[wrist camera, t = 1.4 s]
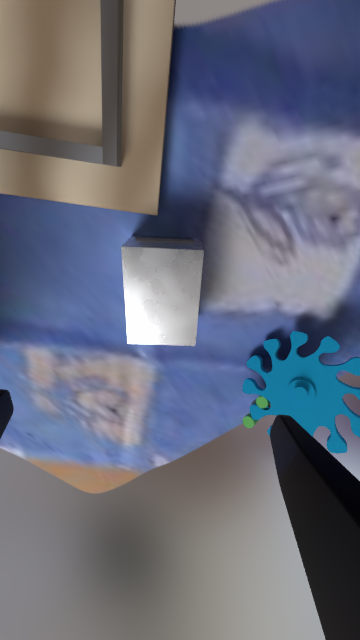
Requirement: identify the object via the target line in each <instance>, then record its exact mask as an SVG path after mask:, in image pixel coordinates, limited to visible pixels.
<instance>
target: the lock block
mask: <svg viewBox="0 0 360 640" xmlns="http://www.w3.org/2000/svg"><path fill="white" fill-rule="evenodd" d="M121 250H122V265H123V281H124V296H125V311H126V326H127V341H128V344H154V345H182V346H195V344H196V333H197V322H198V311H199V300H200V289H201V278H202V267H203V256H204V249H203V247H202V244H201V242H200V239H193V238H182V237H161V236H139V235H137V236H131V237H130V238H129V239H128V240H127V241H126V242H125V243H124V244H123V245H122V246H121Z"/></svg>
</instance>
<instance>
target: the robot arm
mask: <svg viewBox="0 0 360 640" xmlns="http://www.w3.org/2000/svg"><path fill="white" fill-rule="evenodd" d="M12 414H13V404H12V400H11V396H10V393H9V391H8V390H3V389H0V438H1V436H2V434H3V432H4V430H5V428H6V426H7V424H8V422H9V420H10V418H11V416H12ZM270 438H271V444H272V449H273V454H274V459H275V465H276V470H277V475H278V479H279V483H280V487H281V491H282V494H283V498H284V501H285V504H286V508H287V511H288V514H289V518H290V521H291V524H292V528H293V531H294V535H295V538H296V541H297V545H298V548H299V551H300V555H301V558H302V562H303V565H304V568H305V572H306V575H307V578H308V582H309V585H310V588H311V592H312V595H313V598H314V601H315V605H316V609H317V612H318V615H319V618H320V622H321V625H322V629H323V632H324V635H325V639H326V640H360V481H359V480H358V479H356V477H355V476H353V475H352V474H351V473H350V472H349V471H348V470H347V469H346V468H345V467H344V466H343V465H342V464H341V463H340V462H339V461H338V460H337V459H335V458H334V457H333V456H332V455H331V454H330V453H329V452H328V451H327V450H326V449H325V448H324V447H323V446H322V445H321V444H320V443H319V442H318V441H317V440H316V439H315V438H313V437H312V436H311V435H310V434H309V433H308V432H307V431H306V430H305V429H304V428H303V427H302V426H301V425H300V424H299V423H298V422H297V421H296V420H295V419H293V418H292V417H291V416H289V415H281V414H279V415H277V416H276V418H275V420H274V423H273V425H272V427H271V429H270Z"/></svg>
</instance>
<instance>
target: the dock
mask: <svg viewBox="0 0 360 640" xmlns="http://www.w3.org/2000/svg"><path fill="white" fill-rule="evenodd" d="M175 4H176V0H0V193H2V194H9V195H16V196H23V197H30V198H37V199H44V200H51V201H58V202H65V203H72V204H79V205H86V206H94V207H101V208H108V209H115V210H122V211H129V212H136V213H143V214H150V215H158V209H159V197H160V185H161V173H162V161H163V149H164V137H165V125H166V113H167V100H168V88H169V76H170V64H171V52H172V40H173V28H174V15H175Z"/></svg>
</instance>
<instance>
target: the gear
mask: <svg viewBox="0 0 360 640" xmlns="http://www.w3.org/2000/svg"><path fill="white" fill-rule="evenodd" d="M290 339H291V344H292V346H291V351H290V354H289V355H288V357H287V359H286V360H281V359H280V358H279V357H278V356H277V352H278V350H279V348H280V346H281V343H280V340H279V339H270V340H267V341H264V343H263V345H264V348H265V349H266V350H267V351H268V353H269V354H270V356H271V359H272V371H271V372H268V371H266V370H265V369H264V368H263V360H262V358H261V357H260V356H259V355H254V356H252V357H251V358H250V359H249V360H248V361H247V363H246V364H247V366H248V367H249V368H250V369H252V370H255V371H256V372H258V373H259V374H260V375H261V376H262V378H263V379H264V381H265V382H266V389H261V388H260V387H259V386H258V384H257V383H256V381H255V380H254V379H252V378H248V379H246V380H245V381H244V383H243V389H242V391H243V392H245V393H247V394H258V395H261V396H259V397H258V398H257V399H256V400H254V401H253V402H252V405H251V406H250V413H249V414H248V415H247V416H245V417H244V418H243V424H244V426H246V427H247V428H252V427H253V426H254V425H255V424H256V423H257V422H258V420H259V419H260V418H262V417H264V416H266V415H279V414H281V415H289V416H291V417H292V418H293V419H295V420H296V421H297V422H298V423H299V424H300V425H301V426H302V427H303V428H304V429H305V430H306V431H307V432H308V433H309V434H310V435H311V436H312V437H313V434H314V432H315V430H316V429H317V427H318V426H325V427H327V428H328V429H329V430H330V431H331V434H330V436H329V437H328V439H327V448H328V450H329V451H330V452H332V453H345V452H347V443H346V441H345V440H344V438H343V437H342V436H341V435H340V434H339V432H338V430H337V428H336V424H335V416H336V415H338V414H344V415H346V416H348V417H349V419H350V421H351V429H352V431H353V433H354V434H355V435H356V436H358V437H360V416H359V415H357V414H356V413H354V412H353V411H351V410H350V409H349V408H348V406H347V405H346V404H345V402H344V401H343V399H342V397H343V396H344V395H345V394H347V393H351V394H354V395H355V396H357V398H358V399H359V400H360V388H357V387H352V386H349V385H347V384H345V383H343V382H341V381H340V380H338V379H337V377H336V374H337V372H339V371H341V370H345V371H348V372H350V373H352V374H354V375H358V376H360V357H353V358H351V359H349V360H348V361H347V362H345V363H342V364H338V365H325V364H323V363H321V361H320V359H319V357H320V355H321V354H322V353H334V352H336V351H338V350H339V348H340V345H339V343H338V342H337V341H335V340H334V339H333V338H331V337H330V336H327V337H325V338H323V339H322V341H321V344H320V346H319V348H318V349H317V351H316V352H315V353H313V354H311V355H309V356H307V357H302V356H300V355H299V354H298V348H299V346H301V345H303V344H305V343H306V342H307V341H308V335H307V334H306V333H303V332H297V331H293V332H292V333H291V335H290ZM271 427H272V426H271ZM271 427H270V428H269V429H268V431H267V432H268V434H269V436H270V429H271Z"/></svg>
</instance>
